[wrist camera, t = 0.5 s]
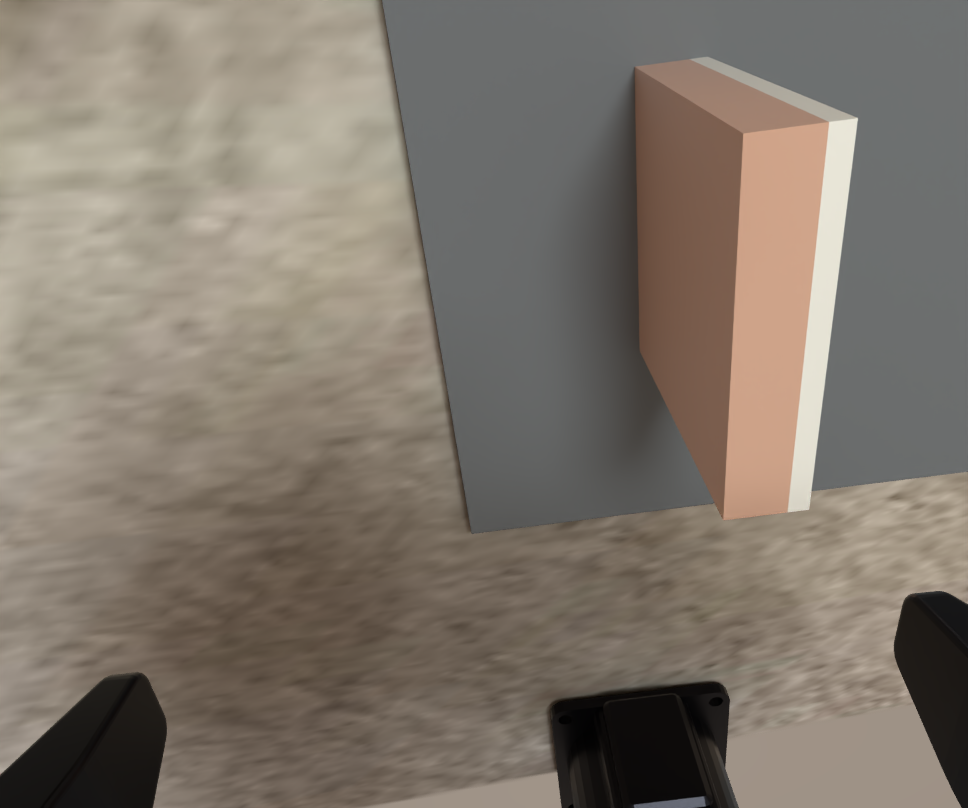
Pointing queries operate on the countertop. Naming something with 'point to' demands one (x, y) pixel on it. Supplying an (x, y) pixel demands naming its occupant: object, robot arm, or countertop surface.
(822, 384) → the tile
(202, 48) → the countertop surface
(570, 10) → the mat
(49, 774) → the robot arm
